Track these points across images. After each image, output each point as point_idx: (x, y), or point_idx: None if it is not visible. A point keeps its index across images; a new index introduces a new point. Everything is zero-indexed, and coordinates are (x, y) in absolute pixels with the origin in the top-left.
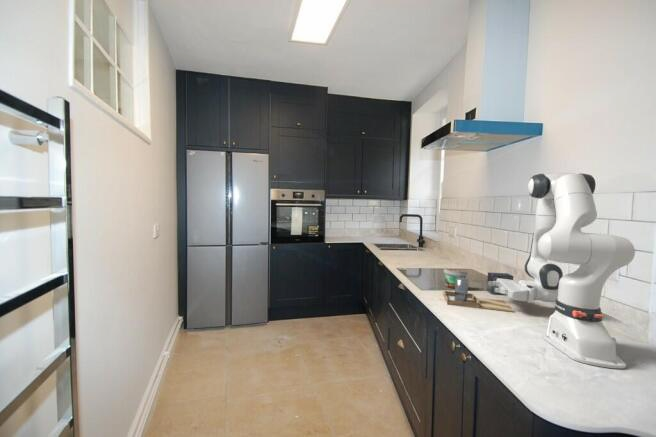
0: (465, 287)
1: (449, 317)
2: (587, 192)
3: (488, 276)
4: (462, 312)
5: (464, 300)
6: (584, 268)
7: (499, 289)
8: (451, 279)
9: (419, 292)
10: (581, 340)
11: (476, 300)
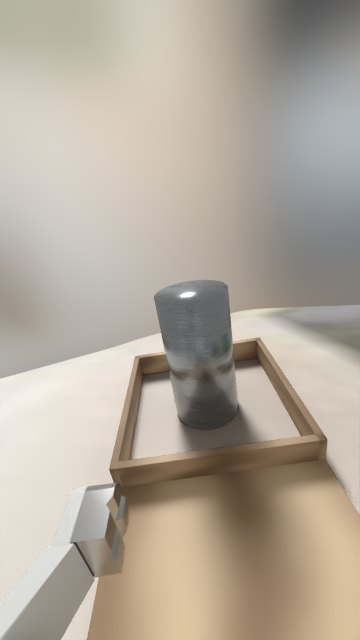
0: (164, 341)
1: (17, 384)
2: None
3: None
4: (57, 413)
5: (177, 406)
6: None
7: (58, 545)
8: None
9: (235, 315)
10: None
11: (190, 456)
